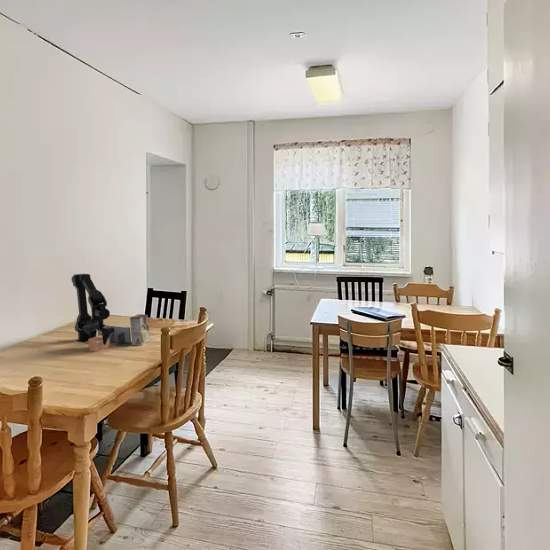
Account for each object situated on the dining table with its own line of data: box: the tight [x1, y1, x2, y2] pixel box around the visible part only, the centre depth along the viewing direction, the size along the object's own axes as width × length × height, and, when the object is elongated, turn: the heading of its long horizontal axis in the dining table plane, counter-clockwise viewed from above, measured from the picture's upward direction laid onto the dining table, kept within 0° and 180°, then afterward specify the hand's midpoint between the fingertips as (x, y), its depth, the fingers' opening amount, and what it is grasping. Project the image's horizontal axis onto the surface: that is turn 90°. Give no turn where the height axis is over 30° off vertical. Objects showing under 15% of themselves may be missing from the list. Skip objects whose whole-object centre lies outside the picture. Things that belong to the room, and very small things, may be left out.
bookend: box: [115, 332, 130, 346], centre depth 236 cm, size 5×5×6 cm
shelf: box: [97, 324, 132, 344], centre depth 240 cm, size 19×7×9 cm, turn 65°
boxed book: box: [88, 335, 111, 352], centre depth 229 cm, size 5×10×6 cm, turn 155°
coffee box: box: [129, 313, 151, 346], centre depth 237 cm, size 9×6×16 cm
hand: (99, 344), depth 229 cm, fingers open, 8 cm apart
